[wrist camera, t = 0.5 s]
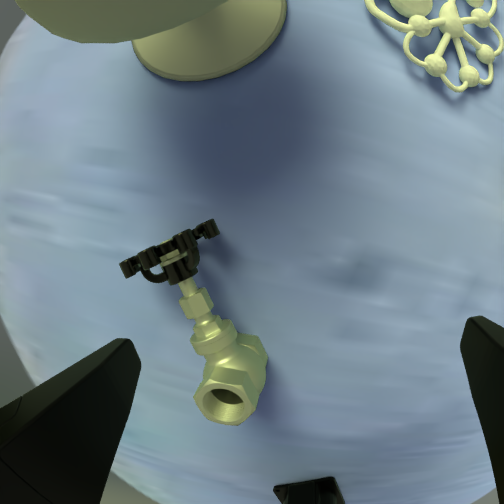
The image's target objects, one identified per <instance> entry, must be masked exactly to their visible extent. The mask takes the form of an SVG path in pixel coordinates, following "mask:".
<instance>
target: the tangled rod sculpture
mask: <svg viewBox="0 0 504 504" xmlns="http://www.w3.org/2000/svg"><path fill="white" fill-rule="evenodd" d="M364 1H365V4H366V7H367V9H368V10H369V12H370V13H371V14H372V15H373V16H375V17H376V18H378V19H379V20H381V21H382V22H384V23H385V24H387V25H389V26H390V27H392V28H394V29H396V30H398V31H400V32H404V33H407V35H406V36H405V38H404V42H403V49H404V52H405V55H406V56H407V57H408V58H409V60H410V61H412V62H414V63H415V64H417V65H418V66H422V67H424V68H425V69H426V71H427V72H428V73H429V74H430V75H432V76H434V77H441V79H442V81H443V82H444V83H445V85H446V86H447V87H448V88H450V89H451V90H453V91H454V92H459V93H460V92H463V91H464V90H465V89H466V88H467V87H474V86H477V84H478V83H480V84H482V85H488V84H491V82H492V80H493V65H492V62H493V61H494V59H495V57H496V56H498V55H500V53H501V52H502V51H503V48H504V41H503V38H502V36H501V34H500V32H499V31H498V30H497V29H496V28H495V27H494V25H493V24H491V23H490V18H492V16H493V15H494V13H495V12H496V7H497V0H492V7H491V9H490V11H489V12H488V13H486V12H485V11H484V10H482V9H478V8H480V7H481V6H482V5H483V3H484V0H466V2H467V3H468V4H469V5H470V6H472V7H474V8H477V9H474V10H472V12H471V17H463V18H460V17H459V14H458V10H457V7H456V5H455V0H448V2H446V3H445V4H444V5H443V6H442V7H441V9H440V12H439V18H437V19H432V20H428V19H427V18H425V16H427V15H428V14H429V13H430V11H431V9H432V5H433V2H432V0H389V1H390V3H391V5H392V7H393V8H394V9H395V10H396V11H397V12H398V13H399V14H401V15H403V16H405V17H408V18H410V19H409V21H408V24H404V23H401V22H399V21H397V20H395V19H394V18H392V17H390V16H388V15H387V14H385V13H384V12H382V11H381V10H379V9H378V8H377V6H376V5H375V2H374V0H364ZM473 23H474V24H475V25H477V26H478V27H481V28H485V27H487V26H489V27H490V28H491V29H492V30H493V31H494V32H495V34H496V35H497V37H498V39H499V48H498V49H497V50H496V51H493V50H492V48H491V47H490V46H488V45H485V44H480V43H479V42H477V41H476V40H475V39H474V38H473V37H471V36H470V35H469V34H468V33H467V32H465V31H464V27H463V25H464V24H473ZM437 26H438V27H439V29H440V31H441V32H442V33H443V34H444V35H443V37H442V39H441V41H440V43H439V45H438V47H437V49H436V51H435V52H434V54H430V55H428V56H427V57H426V58H425V60H424V62H423V61H420V60H418V59H417V58H415V57H414V56H413V55H412V54H411V53H410V50H409V43H410V39H411V38H412V37H413V35H416V36H419V37H425V36H428V35H429V34H430V32H431V29H432V28H433V27H437ZM460 37H463V38H464V39H465V40H467V41H468V42H469V43H470V44H471V45H473V46H474V47H475V48H476V50H475V53H476V56H477V58H478V59H479V61H481V62H482V63H485V64H488V68H489V76H488V79H486V80H482V79H480V77H479V73H478V71H477V70H476V69H475V68H474V67H472V66H469V64H468V61H467V58H466V54H465V51H464V49H463V46H462V43H461V40H460ZM451 38H452V40H453V43H454V45H455V48H456V51H457V54H458V57H459V60H460V64H461V69H460V70H459V78H460V80H461V81H462V83H463V84H462V85H461V86H459V87H455V86H454V85H453V84H452V83H451V82H450V81H449V80H448V79H447V78H446V76H445V75H444V74H445V73H446V71H447V65H446V62H445V60H444V59H443V58H442V55H443V53H444V51H445V49H446V47H447V45H448V43H449V41H450V39H451Z"/></svg>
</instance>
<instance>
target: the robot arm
mask: <svg viewBox="0 0 504 504" xmlns="http://www.w3.org/2000/svg"><path fill="white" fill-rule="evenodd" d="M460 350H461V354H462V358H463V362H464V365H465V369H466V373H467V377H468V382H469V386H470V390H471V394H472V398H473V401H474V404H475V407H476V411H477V414H478V417H479V420H480V423H481V427H482V430H483V434H484V437H485V441H486V444H487V448H488V452H489V456H490V460H491V464H492V469H493V473H494V478H495V483H496V488H497V493H498V498H499V504H504V328H503V327H502V326H500V325H498V324H496V323H494V322H492V321H491V320H489V319H487V318H485V317H483V316H474V317H470V318H468V319H467V321H466V324H465V328H464V331H463V335H462V339H461V342H460ZM140 371H141V361H140V358H139V356H138V354H137V351H136V349H135V347H134V344H133V342H132V341H131V340H130V339H127V338H117V339H115V340H113V341H111V342H110V343H108V344H106V345H105V346H103V347H101V348H100V349H98V350H97V351H95V352H93V353H92V354H90V355H88V356H87V357H85V358H83V359H82V360H80V361H78V362H77V363H75V364H73V365H72V366H70V367H68V368H67V369H65V370H64V371H62V372H60V373H59V374H57V375H55V376H54V377H52V378H50V379H49V380H47V381H45V382H44V383H42V384H40V385H39V386H37V387H35V388H34V389H32V390H30V391H29V392H27V393H26V394H24V395H23V396H20V397H19V398H17V399H15V400H14V401H12V402H10V403H9V404H7V405H5V406H4V407H2V408H0V504H100V501H101V498H102V494H103V491H104V488H105V484H106V481H107V478H108V475H109V472H110V469H111V466H112V463H113V460H114V457H115V454H116V451H117V448H118V445H119V442H120V440H121V437H122V434H123V431H124V428H125V425H126V422H127V420H128V417H129V414H130V410H131V407H132V403H133V398H134V394H135V390H136V386H137V382H138V378H139V375H140ZM273 491H274V493H275V494H276V496H277V497H278V499H279V500H280V502H281V503H282V504H345V502H344V499H343V497H342V494H341V492H340V490H339V487H338V485H337V482H336V480H335V478H334V477H326V478H321V479H316V480H310V481H304V482H298V483H292V484H285V485H278V486H274V488H273Z"/></svg>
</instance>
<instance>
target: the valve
mask: <svg viewBox="0 0 504 504" xmlns="http://www.w3.org/2000/svg"><path fill="white" fill-rule="evenodd" d="M219 234H220V232H219V230H218V227H217V225H216V223H215V221H214V219H210V220H208V221H206V222H203V223H201V224H199V225H197V226H196V228H195V229H193V230H191V229H187V230H185V231H183V232H181V233H179V234H176V235H174V236H173V237H172V238H170V239H168V240H166V241H164V242H162V243H160V245H157V246H152V247H149V248H147V249H145V250H143V251H141V252H139V253H138V254H137V255H136V256H133V257H130V258H128V259H126V260H124V261H122V262H121V263H119V265H120V268H121V270H122V272H123V274H124V276H125V278H126V279H127V278H129V277H131V276H133V275H135V274H136V273H137V272H139V271H141V273H142V274H143V276H144V277H145V278H146V279H147V280H148V281H150V282H153V283H162V282H165V281H168V283H169V285H175V284H177V283H178V285H179V287H180V289H181V291H182V293H183V295H184V296H183V297H181V298H180V299H179V303H180V305H181V307H182V309H183V311H184V313H185V315H186V317H187V319H193V318H194V320H195V322H196V324H195V325H194V327H193V330H194V332H195V333H194V334H193V335H192V337H191V338H190V342H191V344H192V346H193V348H194V349H195V351H196V353H197V354H198V355H204V357H205V359H206V361H207V362H206V364H205V367H204V371H203V381H202V382H201V383H200V385H199V387H198V389H197V391H196V392H195V394H194V396H193V398H194V400H195V402H196V404H197V406H198V408H199V409H200V411H201V412H202V414H203V415H204V416H205V417H206V418H207V419H208V420H210V421H213V422H216V423H220V424H225V425H236V426H238V425H239V424H241V423H242V422H244V421H245V420H246V419H247V418H248V417H249V416H250V415H251V414H252V413H253V412H254V411H255V410H256V407H257V403H258V399H259V394H260V393H261V392H262V390H263V387H264V385H265V381H266V370H265V368H266V364H267V359H268V356H267V353H266V351H265V349H264V347H263V345H262V343H261V341H260V339H259V337H258V336H255V335H249V334H243V333H237V331H236V329H235V327H234V325H233V323H232V321H231V320H229V319H223V320H221V318H220V316H219V315H212V313H211V311H210V310H211V309H212V308H213V306H214V304H213V302H212V300H211V298H210V296H209V294H208V292H207V290H206V288H199V289H198V288H197V286H196V284H195V282H194V280H193V277H192V276H194V275H195V274H197V273H198V269H197V266H198V264H199V261H200V255H199V250H198V248H197V245H198V243H197V241H196V240H197V239H199V238H201V237H203V236H204V237H205V239H207V238H208V239H211V238H213V237H215V236H217V235H219ZM161 262H162V263H161ZM158 264H160V266H161V268H162V270H163V272H162V273H160V274H153V273H152V272H151V271H150V268H152V267H154V266H156V265H158Z"/></svg>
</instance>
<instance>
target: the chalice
mask: <svg viewBox="0 0 504 504" xmlns="http://www.w3.org/2000/svg"><path fill="white" fill-rule="evenodd" d="M15 2H16V3H17V4H18V5H19V7H20V8H21V9H22V10H23V11H24V12H25V13H26V14H27V15H28V16H29V17H31V18H32V19H33V20H35V21H36V22H37V23H39V24H40V25H41V26H43V27H44V28H45V29H47V30H48V31H49V32H51V33H52V34H54V35H57V36H59V37H62V38H65V39H68V40H72V41H76V42H79V43H119V42H124V41H130V40H131V41H132V45H133V49H134V52H135V54H136V56H137V57H138V59H139V60H140V62H141V63H142V64H143V65H144V66H145V67H146V68H148V69H149V70H150V71H151V72H153V73H155V74H157V75H159V76H162V77H164V78H168V79H173V80H177V81H202V80H207V79H212V78H218V77H220V76H223V75H226V74H228V73H231V72H234V71H236V70H238V69H240V68H242V67H243V66H245V65H247V64H248V63H250V62H252V61H254V60H255V59H256V58H257V57H258V56H260V55H261V54H262V53H263V52H264V51H265V50H267V49H268V48H269V46H270V45H271V44H272V43H273V41H274V40H275V39H276V37H277V36H278V35H279V33H280V31H281V28H282V26H283V24H284V21H285V18H286V10H287V3H286V0H15Z"/></svg>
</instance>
